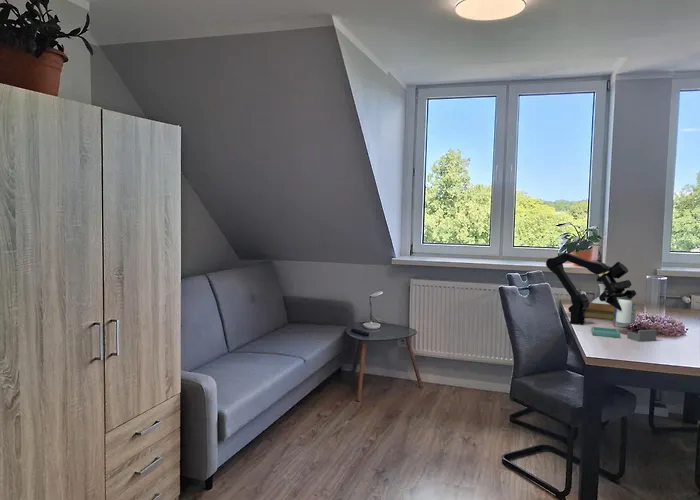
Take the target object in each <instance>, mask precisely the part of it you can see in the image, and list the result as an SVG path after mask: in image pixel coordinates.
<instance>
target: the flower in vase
mask: <svg viewBox="0 0 700 500" xmlns="http://www.w3.org/2000/svg"><path fill="white" fill-rule="evenodd" d="M606 273H608V272H605V274H606ZM602 275H603V274H598V276H602ZM598 287H599V296H600V295H601V294H602V293H603V292H604V291H605V288H606V287H605V285H604V284H603V283H598ZM599 296H598V297H596V298H594V299H593V300H592V301H591V303H598V304H609V303H606V302H605V301H600V299H599ZM606 300H607V299H606ZM610 305H611V304H610Z"/></svg>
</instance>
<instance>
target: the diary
mask: <svg viewBox="0 0 700 500" xmlns="http://www.w3.org/2000/svg"><path fill="white" fill-rule="evenodd" d="M584 315H585V318H586V319H593V320H605V321H613V317H614V306H612V305H610V304H598V303H592V302H589V307H588V308H587V309H586V311H585V312H584Z"/></svg>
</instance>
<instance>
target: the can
mask: <svg viewBox="0 0 700 500" xmlns="http://www.w3.org/2000/svg"><path fill="white" fill-rule="evenodd" d="M617 301H618V302H619V304H620V306H621V308H622V310H621V311H620V310H618V309H617V313H616V321H617V322H618V323H622V324H629V323H631V311H632V303H633V301H632V299H630V298H624V297H618V298H617Z"/></svg>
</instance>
